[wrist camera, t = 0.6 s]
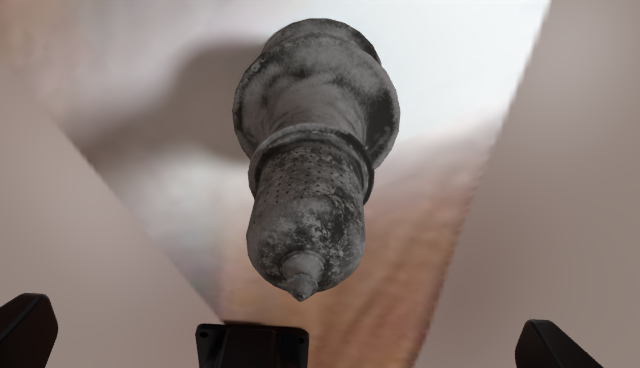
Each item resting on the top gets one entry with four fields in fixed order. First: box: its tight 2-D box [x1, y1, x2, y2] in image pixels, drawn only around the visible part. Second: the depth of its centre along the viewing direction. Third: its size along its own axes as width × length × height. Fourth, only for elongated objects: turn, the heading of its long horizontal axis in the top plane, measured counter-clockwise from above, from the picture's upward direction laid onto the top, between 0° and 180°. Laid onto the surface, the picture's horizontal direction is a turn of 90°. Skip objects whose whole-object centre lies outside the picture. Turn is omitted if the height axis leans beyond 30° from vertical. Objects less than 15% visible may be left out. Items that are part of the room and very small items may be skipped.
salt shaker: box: [232, 19, 400, 302], centre depth 15 cm, size 6×6×12 cm
